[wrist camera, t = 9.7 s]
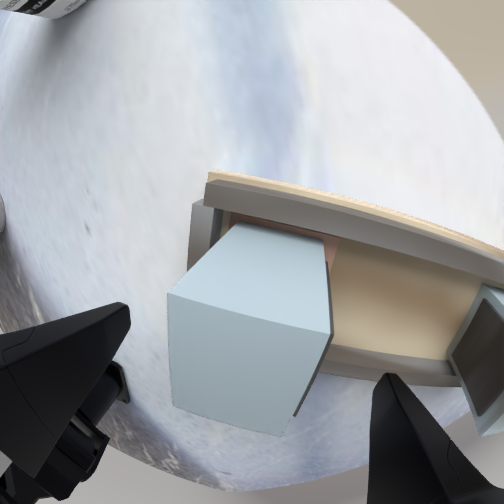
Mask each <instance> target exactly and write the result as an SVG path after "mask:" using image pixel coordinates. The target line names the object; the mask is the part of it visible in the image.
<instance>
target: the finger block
mask: <svg viewBox="0 0 504 504" xmlns="http://www.w3.org/2000/svg"><path fill="white" fill-rule="evenodd" d="M167 314H168V346H169V365H170V379H171V392H172V402H173V406H174V407H177V408H180V409H182V410H185V411H188V412H191V413H194V414H196V415H199V416H202V417H206V418H209V419H212V420H215V421H218V422H222V423H225V424H229V425H232V426H236V427H240V428H244V429H248V430H252V431H256V432H260V433H265V434H270V435H275V436H280V437H281V436H282V434H283V433H284V431H285V429H286V427H287V425H288V423H289V422H290V420H291V418H292V416H295V417H296V415H297V413H298V411H299V409H300V407H301V405H302V403H303V401H304V399H305V397H306V395H307V393H308V391H309V389H310V387H311V385H312V383H313V381H314V379H315V377H316V375H317V373H318V371H319V369H320V366H321V364H322V362H323V360H324V358H325V355H326V353H327V351H328V349H329V346H330V344H331V342H332V339H333V337H334V321H333V308H332V297H331V287H330V277H329V268H328V261H325V255H324V245H323V239H319V238H315V237H310V236H306V235H302V234H297V233H293V232H288V231H284V230H279V229H275V228H270V227H266V226H261V225H256V224H252V223H247V222H242V221H238V222H237V223H236V224H235V225H234V226H233V227H232V228H231V229H230V230H229V231H228V232H227V233H226V234H225V235H224V236H223V237H222V238H221V239H220V240H219V241H218V242H217V243H216V244H215V245H214V246H213V247H212V248H211V249H210V250H209V251H208V252H207V253H206V254H205V255H204V256H203V257H202V258H201V259H200V260H199V261H198V262H197V263H196V264H195V265H194V266H193V267H192V268H191V269H190V270H189V271H188V272H187V273H186V274H185V275H184V276H183V277H182V278H181V279H180V280H179V281H178V282H177V283H176V284H175V285H174V286H173V287H172V288H171V289H170V290H169V291H168V292H167Z"/></svg>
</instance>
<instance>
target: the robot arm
mask: <svg viewBox="0 0 504 504" xmlns="http://www.w3.org/2000/svg"><path fill="white" fill-rule="evenodd" d="M130 326H131V319H130V310H129V306H128V305H126V304H124V303H121V302H116V303H112V304H109V305H105V306H102V307H99V308H95V309H92V310H89V311H85V312H82V313H78V314H75V315H72V316H68V317H65V318H61V319H58V320H54V321H51V322H48V323H44V324H41V325H37V326H36V327H35V326H34V327H30V328H27V329H23V330H19V331H15V332H10V333H6V334H1V335H0V504H35V503H36V502H37V501H38V499H42V498H49V497H54V498H55V499H57V500H58V501H61V500H64V499H67V498H68V497H69V496H70V495H71V493H72V491H73V490H74V488H75V487H76V486H77V484H78V483H79V482H84V481H86V480H87V479H88V478H89V477H91V476H92V474H93V473H94V471H95V470H96V468H97V466H98V464H99V461H100V459H101V457H102V455H103V453H104V451H105V448H106V446H107V444H108V442H109V440H110V438H109V437H108V436H107V435H105V434H103V433H102V432H101V431H100V430H99V429H97V428H96V425H97V424H98V423H99V421H100V420H101V418H102V417H103V416H104V414H105V413H106V412H107V410H108V409H109V408H110V406H111V405H112V404H113V402H114V401H115V399H118V400H120V401H122V402H124V403H126V404H128V403H129V402H130V399H129V395H128V392H127V388H126V384H125V380H124V376H123V372H122V368H121V367H120V365H119V364H117V363H115V362H113V361H112V359H113V357H114V356H115V354H116V352H117V350H118V349H119V347H120V345H121V343H122V342H123V340H124V338H125V336H126V335H127V333H128V331H129V329H130ZM367 504H504V489H502V488H498V487H496V486H493V485H492V484H491V483H489V481H488V480H487V479H486V478H485V477H484V476H483V475H482V474H481V473H480V472H479V471H478V470H477V469H476V468H475V467H474V466H473V465H472V464H471V462H470V461H469V460H468V459H467V458H466V457H465V456H464V455H463V453H462V452H461V451H460V450H459V449H458V447H457V446H456V445H455V444H454V442H453V441H452V440H450V437H449V436H448V435H447V434H446V432H445V431H444V430H443V429H442V427H441V426H440V425H439V424H438V422H437V421H436V420H435V419H434V418H433V416H432V415H431V414H430V413H429V411H428V410H427V409H426V408H425V407H424V405H423V404H422V403H421V402H420V401H419V399H418V398H417V397H416V396H415V395H414V393H413V392H412V391H411V390H410V389H409V387H408V386H407V385H406V384H405V383H404V382H403V380H402V379H401V378H400V377H399V376H398V375H397V374H396V373H391V372H386V373H384V374H383V376H382V377H381V379H380V380H379V382H378V383H377V385H376V386H375V388H374V390H373V397H372V410H371V421H370V451H369V480H368V494H367Z"/></svg>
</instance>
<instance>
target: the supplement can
mask: <svg viewBox="0 0 504 504" xmlns="http://www.w3.org/2000/svg"><path fill="white" fill-rule="evenodd" d="M86 1H87V0H0V10H7V11H14V12H20V13H26V14H31V15H36V16H40V17H45V18H49V19H58V18H60V17H62V16H64V15H66V14H68V13H70V12H72V11H74V10H76V9H77V8H78V7H79V6H81V5H82V4H83V3H85V2H86Z"/></svg>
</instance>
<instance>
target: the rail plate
mask: <svg viewBox="0 0 504 504" xmlns="http://www.w3.org/2000/svg"><path fill="white" fill-rule="evenodd" d="M238 221H242V222H247V223H252V224H256V225H261V226H266V227H270V228H275V229H279V230H284V231H288V232H293V233H297V234H302V235H306V236H310V237H315V238H319V239H323V245H324V255H325V261H328V268H329V277H330V287H331V297H332V308H333V321H334V337H333V339H332V342H331V344H330V346H329V349H328V351H327V353H326V355H325V358H324V360H323V362H322V364H321V366H320V369H319V371H318V372H320V373H325V374H331V375H337V376H343V377H349V378H356V379H363V380H370V381H378V382H379V380H380V379H381V377H382V376H383V374H384V373H386V372H391V373H396V374H397V375H398V376H399V377H400V378H401V379H402V380H403V382H404V383H405V384H408V385H422V386H441V387H462V389H463V391H464V393H465V396H466V398H467V401H468V404H469V406H470V409H471V411H472V414H473V417H474V420H475V423H476V425H477V428H478V432H479V435H480V437H482V436H487V435H491V434H495V433H499V432H503V431H504V251H503V250H500V249H498V248H496V247H493V246H491V245H489V244H486V243H484V242H481V241H479V240H476V239H474V238H471V237H469V236H466V235H464V234H461V233H458V232H456V231H453V230H450V229H448V228H445V227H442V226H439V225H436V224H433V223H431V222H428V221H425V220H422V219H419V218H416V217H413V216H409V215H406V214H403V213H400V212H397V211H394V210H390V209H387V208H384V207H380V206H377V205H373V204H370V203H366V202H363V201H359V200H355V199H352V198H348V197H344V196H340V195H336V194H332V193H328V192H324V191H320V190H316V189H312V188H308V187H303V186H299V185H294V184H290V183H285V182H280V181H276V180H271V179H266V178H261V177H255V176H250V175H245V174H239V173H233V172H228V171H222V170H217V171H212V172H209V173H208V180H207V183H206V187H205V195H204V199H201V200H199V201H197V202H195V203H193V205H192V214H191V225H190V236H189V248H188V262H187V272H188V271H189V270H190V269H191V268H192V267H193V266H194V265H195V264H196V263H197V262H198V261H199V260H200V259H201V258H202V257H203V256H204V255H205V254H206V253H207V252H208V251H209V250H210V249H211V248H212V247H213V246H214V245H215V244H216V243H217V242H218V241H219V240H220V239H221V238H222V237H223V236H224V235H225V234H226V233H227V232H228V231H229V230H230V229H231V228H232V227H233V226H234V225H235V224H236V223H237V222H238Z"/></svg>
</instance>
